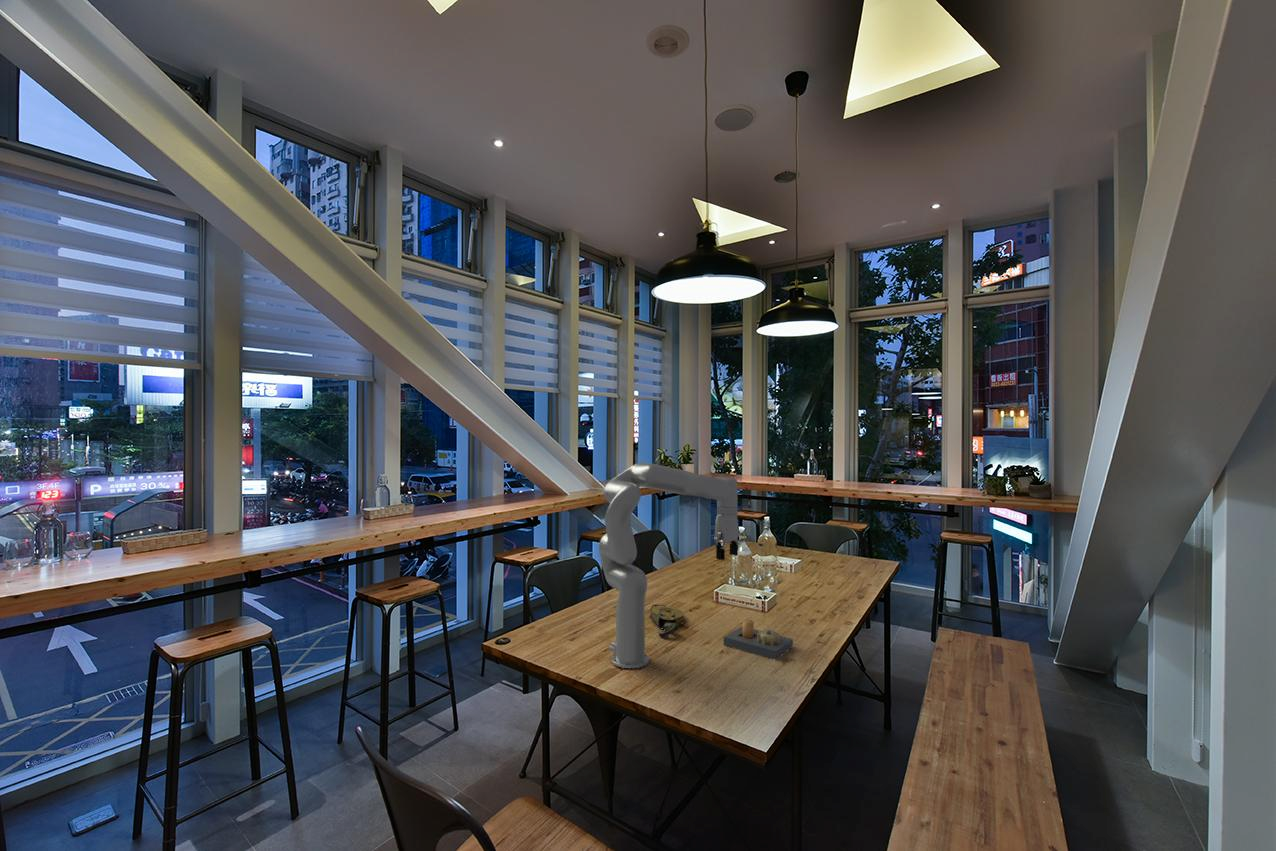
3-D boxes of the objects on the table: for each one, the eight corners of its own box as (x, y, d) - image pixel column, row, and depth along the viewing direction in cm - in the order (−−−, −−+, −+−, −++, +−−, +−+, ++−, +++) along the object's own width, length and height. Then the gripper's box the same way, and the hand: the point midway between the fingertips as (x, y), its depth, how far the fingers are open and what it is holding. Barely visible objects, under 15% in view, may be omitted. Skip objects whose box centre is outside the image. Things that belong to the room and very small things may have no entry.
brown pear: (740, 643, 194) (740, 621, 194) (745, 640, 197) (745, 618, 197) (750, 646, 192) (750, 624, 192) (755, 643, 195) (755, 621, 195)
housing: (723, 645, 193) (723, 627, 193) (742, 634, 204) (742, 616, 204) (775, 660, 180) (775, 640, 180) (792, 647, 191) (792, 629, 191)
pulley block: (649, 622, 198) (651, 598, 228) (646, 638, 198) (649, 611, 228) (687, 629, 197) (684, 603, 227) (684, 644, 197) (682, 617, 227)
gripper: (729, 507, 209) (729, 551, 208) (706, 512, 195) (706, 559, 195) (747, 509, 204) (747, 554, 204) (724, 514, 191) (724, 562, 190)
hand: (727, 557), depth 199 cm, fingers open, 9 cm apart
